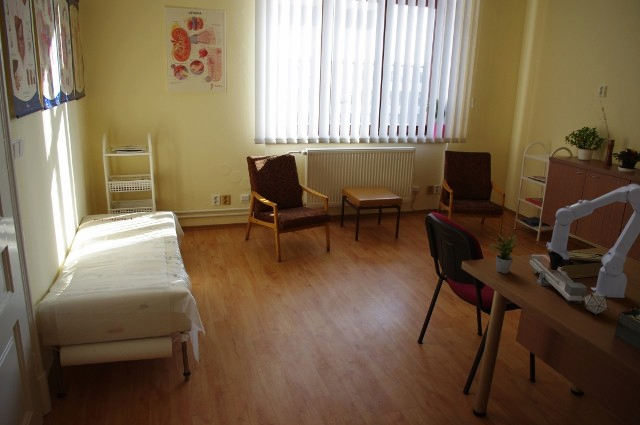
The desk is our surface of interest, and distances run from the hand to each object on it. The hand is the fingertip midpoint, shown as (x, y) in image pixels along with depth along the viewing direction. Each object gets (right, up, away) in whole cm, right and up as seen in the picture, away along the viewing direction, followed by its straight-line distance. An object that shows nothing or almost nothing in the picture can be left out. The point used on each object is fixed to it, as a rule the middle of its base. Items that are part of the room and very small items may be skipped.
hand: (553, 269), depth 201 cm
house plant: (-16, -2, +14) cm, 21 cm away
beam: (0, -4, -1) cm, 4 cm away
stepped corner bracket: (0, -7, -1) cm, 7 cm away
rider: (0, 0, +5) cm, 5 cm away
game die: (+4, -13, -22) cm, 26 cm away
